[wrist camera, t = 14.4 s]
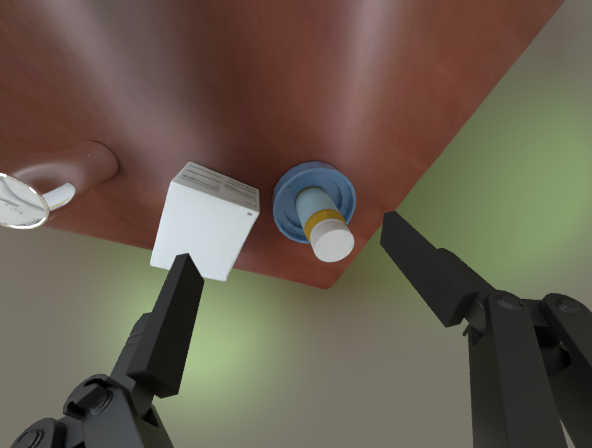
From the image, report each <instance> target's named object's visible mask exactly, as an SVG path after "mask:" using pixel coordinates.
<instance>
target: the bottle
mask: <svg viewBox="0 0 592 448" xmlns="http://www.w3.org/2000/svg"><path fill="white" fill-rule="evenodd" d="M295 207H296V210H297V213H298V216H299V219H300V222H301V225H302V227H303V230H304V233H305V236H306V238H307V239H308V241H309V242H310V243H311V244H312V247H313V250H314V253H315V255H316V256H317V257H318V258H319V259H320V260H322V261H325V262H335V261H338V260H341V259H343V258H344V257H346V256H347V255H348V254H349V253H350V252H351V251H352V249H353V246H354V238H353V235H352V234H351V232H350V231H349V229H348V228H347V227H346V222H345V219H344V218H343V216H342V214H341V213H340V211H339V210H338V209H337V207H336V206H335V204H334V203H333V201H332V200H331V198H330V197H329V196H328V194H327V193H326V192H325V191H324V190H323V189H322V188H319V187H309V188H306V189H304V190H303V191H301V192H300V193H299V195H298V196H297V198H296V201H295Z"/></svg>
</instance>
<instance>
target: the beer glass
mask: <svg viewBox="0 0 592 448" xmlns="http://www.w3.org/2000/svg"><path fill="white" fill-rule="evenodd" d="M118 168H119V165H118V161H117V159H116V157H115V155H114V154H113V153H112V152H111V151H110V150H109V149H108V148H107V147H105V146H104V145H102V144H100V143H97V142H94V141H89V140H83V141H79V142H77V143H75V144H73V145H72V146H71V147H69V148H68V149H65V150H59V151H48V152H37V153H31V154H24V155H20V156H16V157H12V158H9V159H6V160H3V161H0V225H2V226H6V227H10V228H15V229H31V228H36V227H39V226H41V225H43V224H44V223H46V222H48V221H50V220H52V219H54V218H55V217H57V216H59V215H61V214H63V213H64V212H66V211H68V210H69V209H71V208H72V207H74V206H75V205H76V204H78V203H79V202H80V201H81V200H82V199H83V198H84V197H85V196H86V195H87V194H88V193H89V192H90V191H91V189H92V188H93V187H94V186H95V185H96V184H97V183H98V182H99V181H102V180H105V179H109V178H111V177H113V176H114V175H115V174H116V173H117V171H118Z"/></svg>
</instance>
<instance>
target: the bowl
mask: <svg viewBox="0 0 592 448" xmlns="http://www.w3.org/2000/svg"><path fill="white" fill-rule="evenodd" d="M309 187H319V188H322V189H323V190H324V191H325V192H326V193H327V194H328V196H329V197H330V198H331V200H332V201H333V203H334V204H335V206H336V207H337V209H338V210H339V211H340V213H341V214H342V216H343V218H344V219H345V222H346V225H347V224H348V223H349V222H350V220H351V218H352V216H353V213H354V211H355V206H356V195H355V190H354V187H353V185H352V184H351V183H350V181H349V180H348V178H347V177H346V176H345V175H344V174H343V173H342V172H341V171H340V170H338V169H336V168H335V167H333V166H332V165H330V164H327V163H322V162H307V163H302V164H300V165H298V166H296V167H293V168H291V169H290V170H289V171H288V172H286V173H285V174H284V175H283V176H282V177H281V178H280V180H279V181H278V183H277V184H276V186H275V188H274V191H273V195H272V200H271V202H272V210H273V216H274V221H275V223H276V225H277V227H278V229H279V230H280V232H282V233H283V234H284V235H285V236H286V237H287V238H289V239H292V240H294V241H296V242H300V243H309V244H310V242H309V241H308V239H307V238H306V236H305V233H304V230H303V227H302V225H301V222H300V219H299V216H298V213H297V210H296V207H295V201H296V198H297V196H298V195H299V193H300V192H301V191H303V190H304V189H306V188H309Z"/></svg>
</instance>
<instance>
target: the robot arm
mask: <svg viewBox="0 0 592 448" xmlns="http://www.w3.org/2000/svg"><path fill="white" fill-rule="evenodd" d="M380 244H381V246H382V247H383V248H384V249H385V251H386V252H387V253H388V255H389V256H390V257H391V258H392V260H393V261H394V262H395V264H396V265H397V266H398V267H399V269H400V270H401V271H402V272H403V274H404V275H405V276H406V278H407V279H408V280H409V281H410V283H411V284H412V285H413V287H414V288H415V289H416V290H417V292H418V293H419V294H420V295H421V297H422V298H423V299H424V301H425V302H426V303H427V304H428V306H429V307H430V308H431V310H432V311H433V312H434V313H435V315H436V316H437V317H438V318H439V320H440V321H441V322H442V323H443V325H444V326H445V327H450V326H454V325H458V324H460V323H461V322H462V320H463V318H465V319H466V320H467V321H468V322H469V324H468V326H467V327H466V329H465V330H464V332H463V336H466V334H467V333H468V343H469V344H468V345H469V366H470V387H471V408H472V429H473V448H568V447H567V443H566V439H565V436H564V432H563V429H562V425H561V422H560V419H561V421H562V423H563V425H564V427H565V429H566V431H567V432H568V434H569V436H570V438H571V440H572V442H573V444H574V446H575V448H592V312H591V311H590V310H589V309H588V308H587V307H586V306H584V305H583V304H582V303H580V302H579V301H577V300H575V299H573V298H571V297H569V296H566V295H562V294H557V293H550V294H548V295H546V296H545V297H544V298H543V299H542V300H530V299H520V298H519V297H517V296H515V295H514V294H512V293H509V292H506V291H501V290H496V289H495V288H493V287H492V286H491V285H490V284H489V283H487V282H486V281H485V280H484V279H483V278H482V277H481V276H479V275H478V274H477V273H476V272H475V271H474V270H472V269H471V268H470V267H468V265H467V264H465V263H464V262H463V261H461V259H460V258H458V257H457V256H456V255H455V254H454V253H452V252H450V251H448V250H446V249H444V248H440V249H436V248H435V247H434V246H433V245H431V243H429V242H428V241H427V240H426V239H425V238H424V237H423V236H422V235H421V234H420V233H419V232H418V231H416V230H415V229H414V228H413V227H412V226H411V225H410V224H409V223H408V222H407V221H405V220H404V219H403V218H402V217H401V216H400V215H399V214H398V213H397V212H396V211H393V212H388V213H384V220H383V227H382V233H381V240H380ZM203 285H204V279H203V278H202V276H201V274H200V272H199V270H198V269H197V267H196V265H195V263H194V262H193V260H192V258H191V256H190V255H189V253H185V254H180V255H176V257H175V259H174V262H173V264H172V266H171V268H170V271H169V273H168V275H167V278H166V280H165V282H164V285H163V287H162V289H161V292H160V294H159V296H158V299H157V301H156V303H155V306H154V308H153V310H152V312H150V313H146V314H143V315H142V316H141V317H140V319H139V320H138V321H137V322H136V324H135V325H134V327H133V329H132V331H131V333H130V337H129V338H128V339H127V342H126V346H124V348H123V350H122V352H121V354H120V356H119V358H118V361H117V362H116V365H115V367H114V369H113V371H112V373H111V375H110V377H108V376H107V375H105V374H96V375H93V376H91V377H89V378H88V379H86V380H84V381H83V382H82V383H81V384H80V385H79V386H77V387H76V388H75V389H74V391H73V392H72V393H71V394H70V396H69V397H68V399H67V401H66V403H65V405H64V407H63V414H64V415H67V416H65V417H63V418H61V419H59V420H56V419H53V418H44V419H42V420H40V421H37V422H35V423H34V424H33V425H31V426H30V427H29V428H27V429H26V430H25V431H24V432H23V433H22V434H21V435H20V436H19V437H18V438H17V439H16V440H15V442H14V443H13V444H12V446H11V447H10V448H174V447H173V445H172V442H171V440H170V438H169V436H168V434H167V432H166V430H165V428H164V426H163V424H162V421H161V419H160V417H159V415H158V413H157V411H156V409H155V407H154V406H153V404H152V400H153V397H154V394H155V395H156V396H158V397H159V398H165V397H169V396H173V395H177V394H178V392H179V388H180V384H181V379H182V375H183V371H184V366H185V362H186V358H187V354H188V349H189V345H190V341H191V337H192V332H193V328H194V324H195V320H196V315H197V311H198V307H199V302H200V298H201V294H202V290H203ZM559 417H560V418H559Z"/></svg>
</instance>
